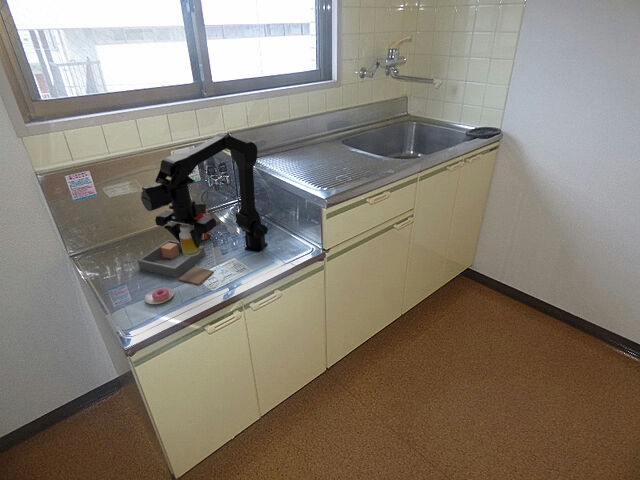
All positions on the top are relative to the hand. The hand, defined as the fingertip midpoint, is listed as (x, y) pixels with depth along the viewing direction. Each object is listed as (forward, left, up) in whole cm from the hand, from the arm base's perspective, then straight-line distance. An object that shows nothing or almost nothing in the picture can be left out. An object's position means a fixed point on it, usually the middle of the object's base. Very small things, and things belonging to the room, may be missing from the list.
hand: (190, 245), depth 122 cm
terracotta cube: (+18, -8, -12) cm, 23 cm away
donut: (+5, +13, -12) cm, 19 cm away
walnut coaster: (0, 0, -12) cm, 12 cm away
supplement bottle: (0, 0, -3) cm, 3 cm away
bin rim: (+14, -5, -12) cm, 19 cm away
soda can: (+15, -24, -12) cm, 31 cm away
